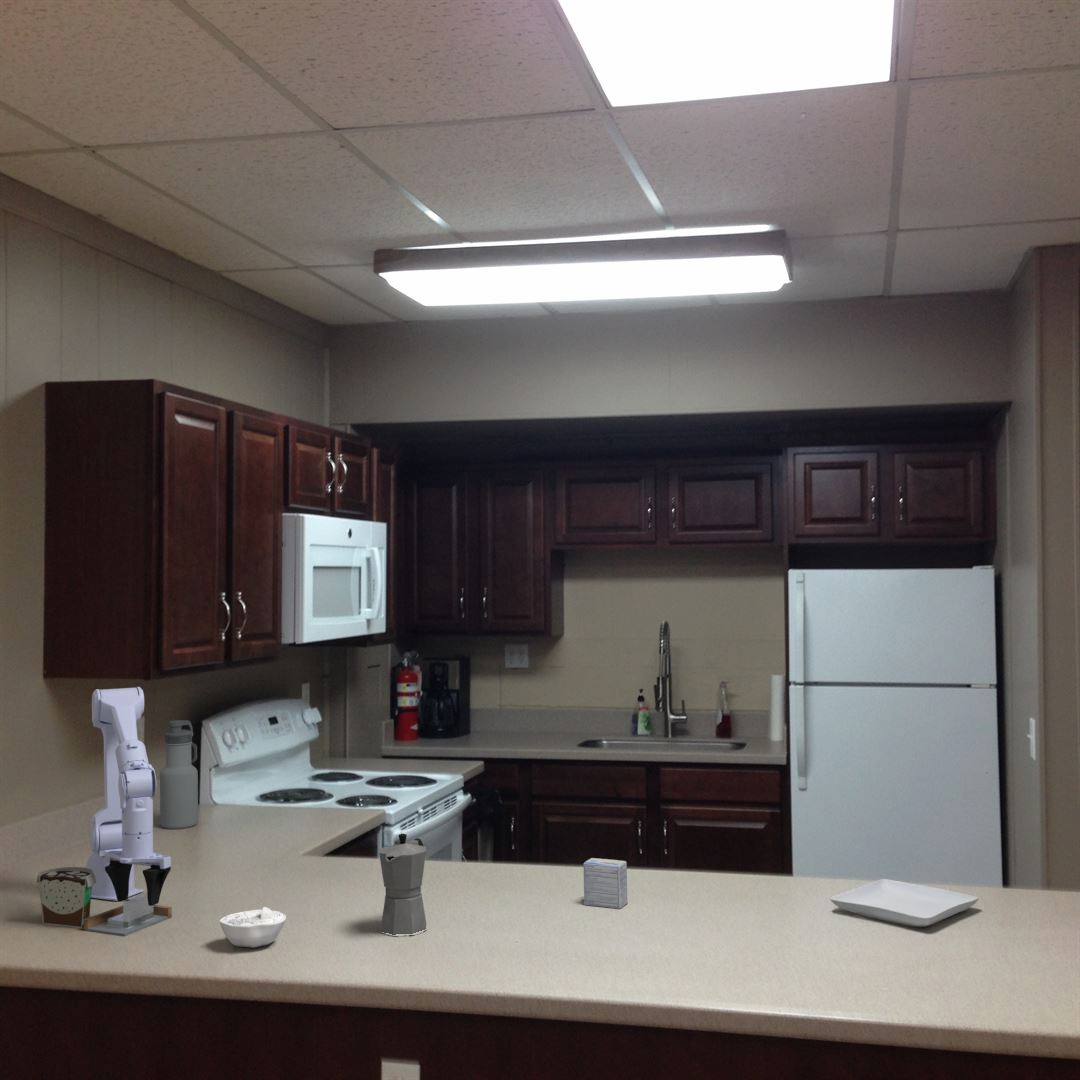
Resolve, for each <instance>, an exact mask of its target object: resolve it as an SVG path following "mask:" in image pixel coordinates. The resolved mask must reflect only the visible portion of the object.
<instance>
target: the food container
mask: <svg viewBox="0 0 1080 1080" xmlns="http://www.w3.org/2000/svg"><path fill="white" fill-rule="evenodd" d="M36 877H37V878H36V883H37V884H38V885H39V896H40V906H41V907H40V909H41V919H42V925H47V926H56V927H57V926H58V927H64V928H74V929H75V928H76V929H84V919H87V918H90V913H91V904H92V903H91V901H92V898H91V893H92V885H94V884H95V883H96V879H95V875H94V873H93V870H92V869H89V868H86V867H83V866H66V867H65V866H64V867H56V868H50V869H49V868H48V869H46V870H41V871H38V875H37V876H36Z"/></svg>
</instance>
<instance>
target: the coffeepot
mask: <svg viewBox="0 0 1080 1080" xmlns="http://www.w3.org/2000/svg"><path fill="white" fill-rule="evenodd" d="M398 839H399V843H396V844H392V845H388V846H383V847H380V848H379V851H378V852H379V853H378V854H379V861H380V866H381V868H380V869H381V873H382V880H383V887H385V896H384V897H385V898H384V901H383V904H384V905H383V910H382V915H381V926H380V931H381V932H380V933H382V932H384V933H389V934H392V935H396V934H413V933H416V932H419V931H422V930H425V929H426V926H427V927H428V925H426V924H428V923H427V919H426V911H425V906H424V900H423V895H422V885H423V877H424V871H425V870H424V869H425V861H426V855H427V847H426V846H424V843H423V841H422V840H421V838H418V837H417V838H414V839H412V840H409V841H408V842H407V834H406V833H400V834H398Z"/></svg>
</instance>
